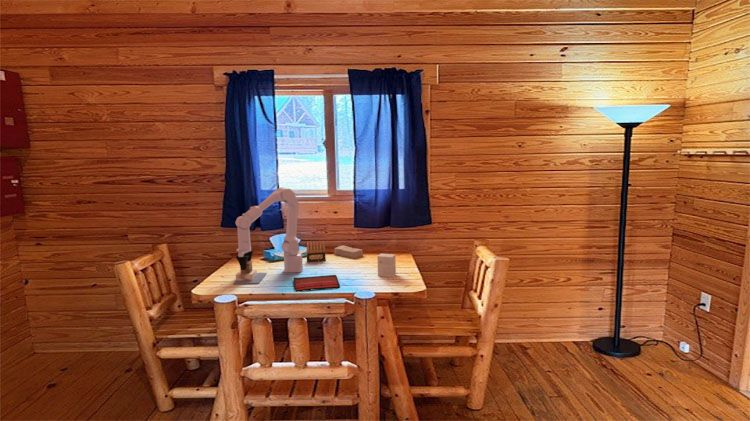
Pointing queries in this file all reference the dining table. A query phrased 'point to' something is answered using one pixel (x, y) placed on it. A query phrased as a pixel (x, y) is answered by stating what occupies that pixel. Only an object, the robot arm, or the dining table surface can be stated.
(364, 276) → the dining table surface
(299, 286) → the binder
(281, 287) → the dining table surface
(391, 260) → the small box
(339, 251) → the brick
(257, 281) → the board
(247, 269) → the walnut block
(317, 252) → the ammunition clip
